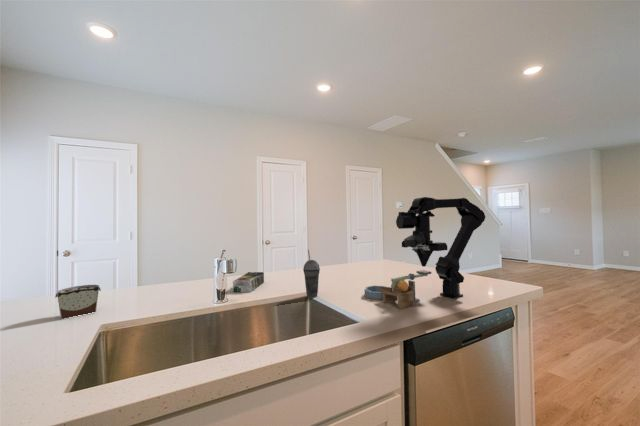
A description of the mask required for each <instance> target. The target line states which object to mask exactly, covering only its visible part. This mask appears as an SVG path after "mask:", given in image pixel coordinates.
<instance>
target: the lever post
mask: <svg viewBox="0 0 640 426" xmlns="http://www.w3.org/2000/svg"><path fill="white" fill-rule="evenodd" d="M407 282H408V283H407V284H408V286H413V290H414V291H413V295H414V304H415V303H419V302H421V300H420V299H419V298H417V297H416V283H415V282H416V281H414V280H410V279H408V281H407Z"/></svg>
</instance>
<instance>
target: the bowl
mask: <svg viewBox="0 0 640 426" xmlns="http://www.w3.org/2000/svg"><path fill="white" fill-rule="evenodd" d="M381 286H383V287H386V286H385V285H370V286H369V285H368V286H365V288H364V296H365V297H366V298H367V299H371V300H374V301H375V300H377V301H383V294H382V293H380V287H381Z"/></svg>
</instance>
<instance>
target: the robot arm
mask: <svg viewBox="0 0 640 426" xmlns="http://www.w3.org/2000/svg"><path fill="white" fill-rule="evenodd" d="M445 208H446V209H447V208H449V209H450V208H455V209H456V210H457V214H458V215H459V216H460V217H461V219H460V224H461V225H460V228H459V230H458V232H457V234H456V237H455V238H454V240H453V242H452V244H451V246H450V248H448V244H447V243H446V242H443V241H442V242H439V241H435V242H434V241H433V240H431V234H433V230H431V219H430V218H431V217H433V218H434V217H435V214H434V213H433V212H432V211H434V210H435V209H445ZM485 220H486V214H485V211H484V210H482V209H481V208H480V207H479V206H478V205H476V204H474V203H472V202H470V200H469V199H467V198H466V197H460V198H459V197H458V198H440V199H438V198H434V197H430V196H424V197H416V198H414V199H413V201H412V202H411V206H410V207H409V209H408V210H407V211H399V212H398V215H397V217H396V220H395V225H396V227H397V228H398V229H400V230H403V229H404V230H405V229H414V230H412V234H410V235H409V236H407V237H405V238H404V239H403V240H402V241H401V248H412V249H411V250H412V251H414V252H415V253H416V255H417V257H418V259H419V262H420V264H421V267H426V266H427V264H428V262H429V259H430V257H431V256H432V255H433V252H434V251H435V252H441V251H448V252H447V254H446V255H445V256H439V257H438V259H437V262H436V263H435V272H436V274H437V275H438V278H439V279H440V280H442V292H440V293H439V295H440V296H444V297H448V298H450V299H456V298H461V297H464V294H463V293H461V291H460V290H461V289H460V288H461V287H460V283H464V280H465V277H464V276H463V275H462V273H461V272H460V267H461V266H460V260H461V257H462V255H463V253H464V251H465V249H466V246H467V245H468V243H469V241H470V240H471V237H472V235H473V233H474V231H475V230H477V229H478V228H479V227H481V226H482V225H483V223H484V222H485ZM448 249H449V250H448Z"/></svg>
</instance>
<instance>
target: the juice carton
mask: <svg viewBox="0 0 640 426" xmlns="http://www.w3.org/2000/svg"><path fill="white" fill-rule="evenodd" d="M264 283H265V273H264V272H263V271H262V272H261V271H258V272H257V271H253V272H251V271H249V272H246V273H244V274H242V275H241V276H240V277H238V278H236V279H234V280H232V293H237V292H239V293H253V291H255V290H256V289H257V288H259V287H260V286H261V285H263V284H264Z"/></svg>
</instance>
